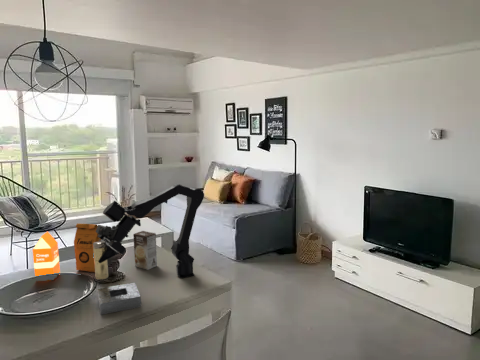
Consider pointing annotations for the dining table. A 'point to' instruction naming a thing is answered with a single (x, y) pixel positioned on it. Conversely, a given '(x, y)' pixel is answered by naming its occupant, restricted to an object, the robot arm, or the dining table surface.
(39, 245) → the orange juice
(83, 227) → the coffee package
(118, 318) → the dining table surface
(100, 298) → the bore housing
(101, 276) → the brass plug
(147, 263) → the coffee box
